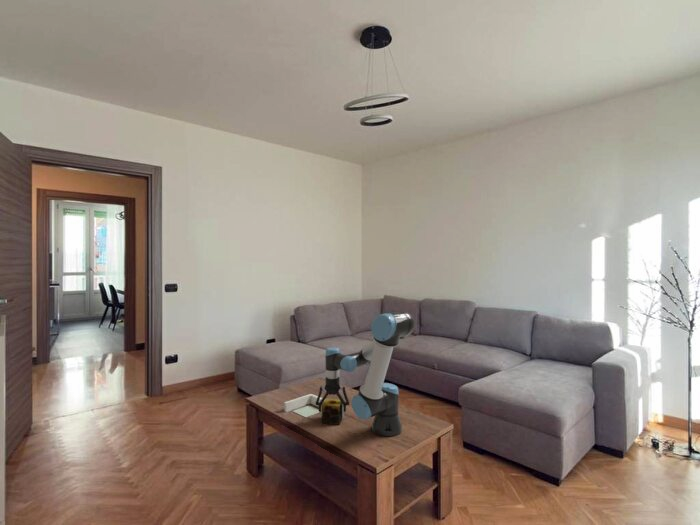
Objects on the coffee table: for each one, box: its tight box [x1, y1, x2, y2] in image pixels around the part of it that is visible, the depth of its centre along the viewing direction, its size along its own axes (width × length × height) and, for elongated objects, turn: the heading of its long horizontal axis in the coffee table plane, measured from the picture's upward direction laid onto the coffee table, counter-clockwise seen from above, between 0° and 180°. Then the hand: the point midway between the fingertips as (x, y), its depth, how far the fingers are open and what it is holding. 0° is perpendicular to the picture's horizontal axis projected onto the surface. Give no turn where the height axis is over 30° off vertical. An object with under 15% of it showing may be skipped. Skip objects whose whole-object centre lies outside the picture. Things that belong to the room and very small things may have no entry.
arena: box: [283, 393, 325, 413], centre depth 219 cm, size 18×20×5 cm
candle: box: [320, 398, 343, 425], centre depth 206 cm, size 10×10×10 cm
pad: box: [292, 405, 321, 418], centre depth 218 cm, size 12×12×1 cm
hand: (332, 417), depth 206 cm, fingers closed on candle, 11 cm apart
